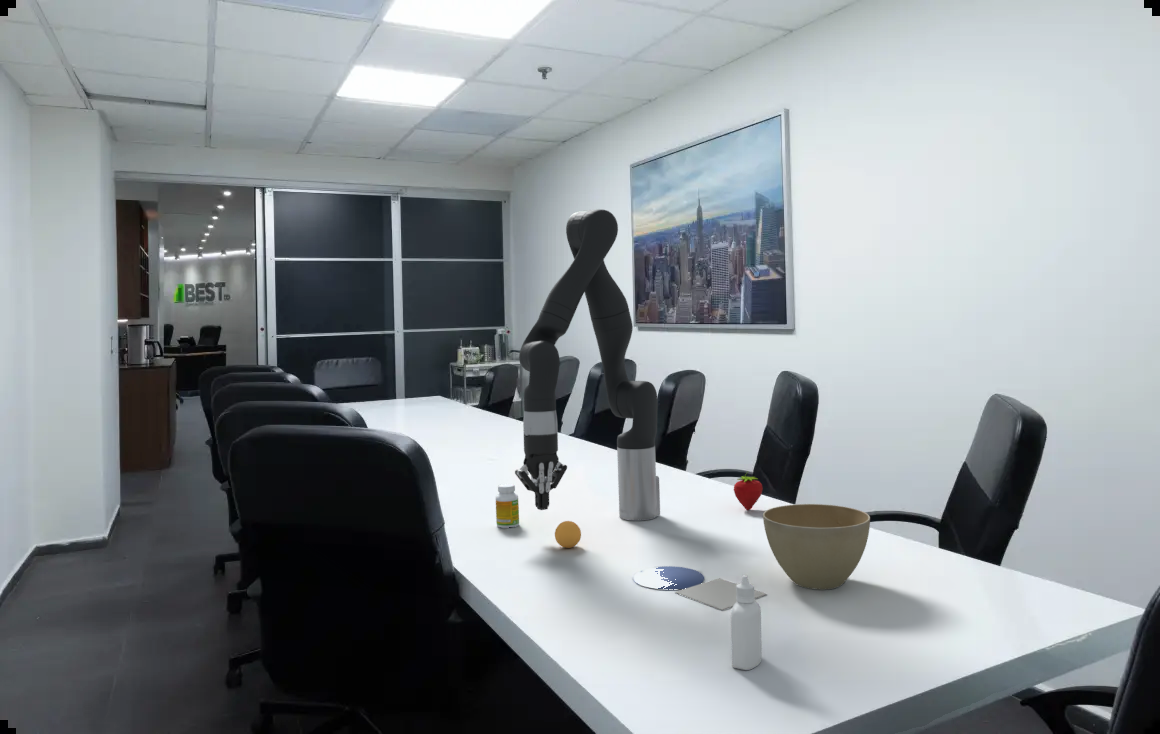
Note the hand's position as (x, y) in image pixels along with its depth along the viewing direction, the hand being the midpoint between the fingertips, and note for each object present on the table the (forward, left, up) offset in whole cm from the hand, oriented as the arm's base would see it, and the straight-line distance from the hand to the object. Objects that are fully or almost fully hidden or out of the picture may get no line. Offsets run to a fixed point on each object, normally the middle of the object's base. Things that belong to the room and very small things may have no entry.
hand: (542, 509), depth 170 cm
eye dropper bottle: (+14, +71, -7) cm, 73 cm away
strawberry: (-52, +13, -7) cm, 54 cm away
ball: (0, +9, -4) cm, 10 cm away
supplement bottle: (0, -16, -7) cm, 17 cm away
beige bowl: (-20, +57, -7) cm, 61 cm away
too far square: (-3, +50, -7) cm, 51 cm away
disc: (-2, +38, -7) cm, 39 cm away
